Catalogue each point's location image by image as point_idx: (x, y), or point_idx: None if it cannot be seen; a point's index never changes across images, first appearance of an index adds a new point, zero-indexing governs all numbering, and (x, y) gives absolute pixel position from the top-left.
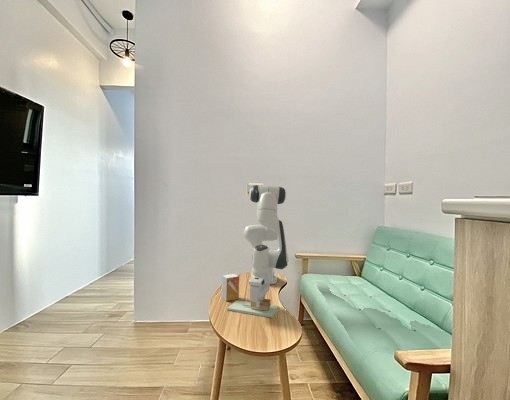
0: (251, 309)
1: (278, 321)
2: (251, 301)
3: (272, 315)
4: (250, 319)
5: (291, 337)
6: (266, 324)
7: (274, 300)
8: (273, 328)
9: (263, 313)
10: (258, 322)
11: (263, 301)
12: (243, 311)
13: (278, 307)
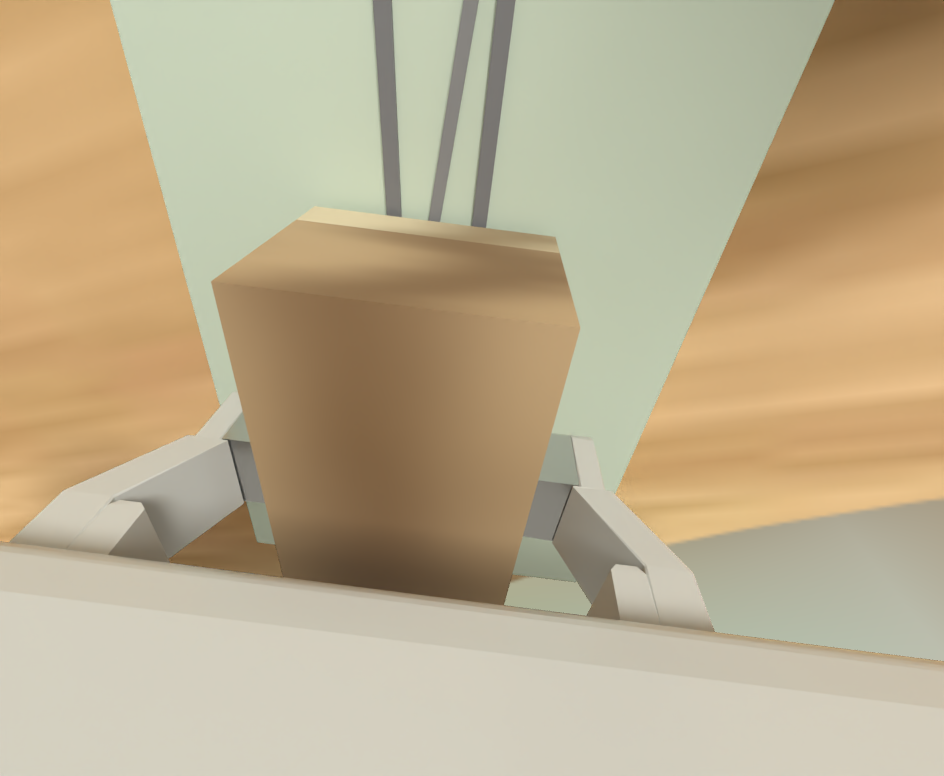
0: None
1: (221, 563)
2: (231, 299)
3: (265, 538)
4: (20, 278)
5: None
6: (67, 483)
7: (928, 490)
8: None
9: None
10: (36, 402)
11: (326, 569)
12: (135, 31)
13: (543, 574)
